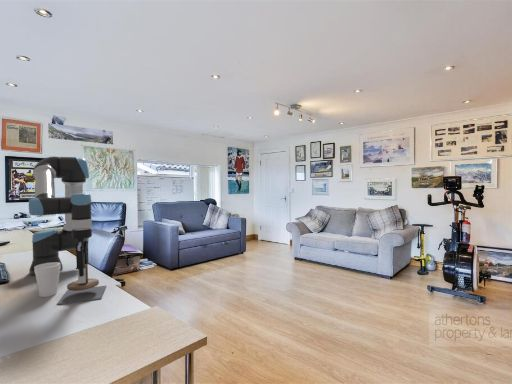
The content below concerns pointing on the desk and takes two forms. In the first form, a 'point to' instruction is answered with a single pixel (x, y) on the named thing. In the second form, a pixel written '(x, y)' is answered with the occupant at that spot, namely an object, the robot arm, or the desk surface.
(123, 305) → the desk surface
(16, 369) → the desk surface
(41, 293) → the foam cup
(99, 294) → the mat
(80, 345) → the desk surface
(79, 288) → the lid
